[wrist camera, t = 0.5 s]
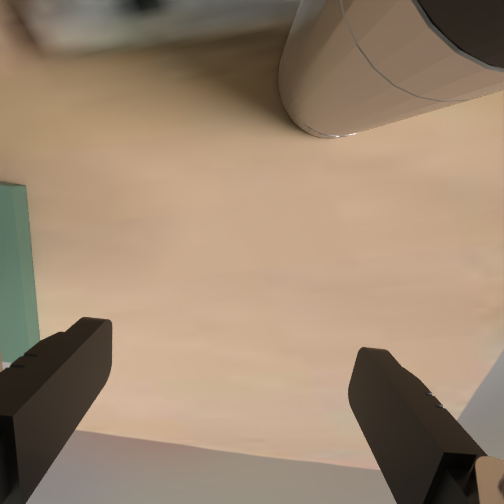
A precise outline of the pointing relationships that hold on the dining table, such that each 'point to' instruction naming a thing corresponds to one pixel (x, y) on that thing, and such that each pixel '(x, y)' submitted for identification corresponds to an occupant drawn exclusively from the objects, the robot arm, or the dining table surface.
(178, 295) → the dining table surface
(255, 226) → the dining table surface
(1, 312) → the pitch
